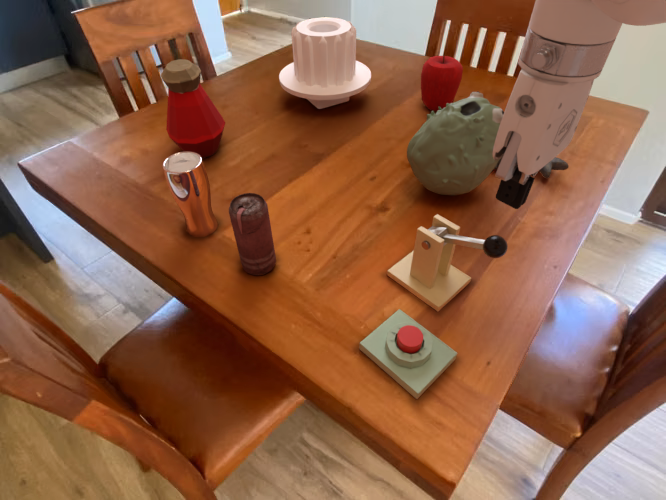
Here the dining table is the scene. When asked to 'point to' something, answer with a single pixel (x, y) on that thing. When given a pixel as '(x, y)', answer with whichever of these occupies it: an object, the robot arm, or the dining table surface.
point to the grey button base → (407, 354)
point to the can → (253, 233)
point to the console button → (409, 339)
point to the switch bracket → (431, 267)
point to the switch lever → (474, 242)
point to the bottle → (191, 110)
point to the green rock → (456, 146)
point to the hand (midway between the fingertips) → (509, 201)
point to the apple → (440, 81)
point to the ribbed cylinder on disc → (324, 63)
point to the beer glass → (191, 191)
